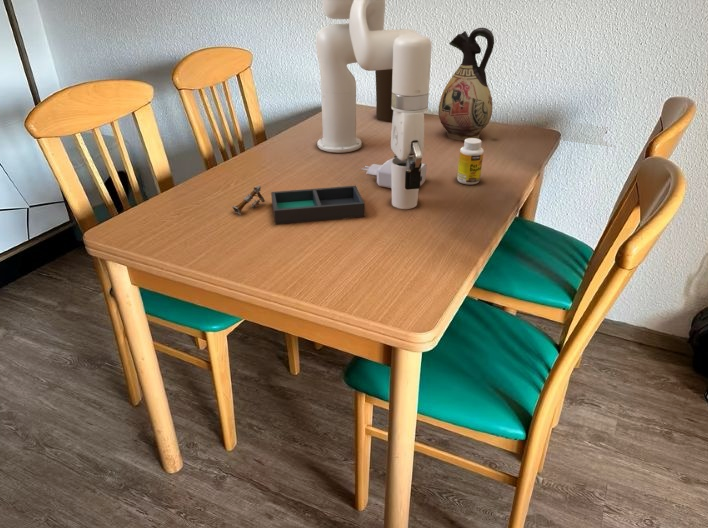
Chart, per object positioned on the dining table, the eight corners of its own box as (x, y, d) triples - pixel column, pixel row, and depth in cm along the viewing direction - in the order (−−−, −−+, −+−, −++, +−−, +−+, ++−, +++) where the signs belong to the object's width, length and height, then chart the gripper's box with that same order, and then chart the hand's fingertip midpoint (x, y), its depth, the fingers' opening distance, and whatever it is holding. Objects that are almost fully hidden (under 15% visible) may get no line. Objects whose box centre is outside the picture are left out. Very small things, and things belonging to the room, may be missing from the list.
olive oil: (368, 118, 186) (369, 34, 172) (386, 111, 193) (388, 30, 179) (395, 124, 180) (398, 38, 167) (413, 116, 187) (417, 33, 174)
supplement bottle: (467, 187, 138) (472, 145, 133) (452, 180, 142) (456, 139, 137) (484, 182, 141) (489, 141, 135) (468, 175, 145) (473, 135, 139)
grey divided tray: (272, 204, 130) (271, 191, 129) (355, 198, 133) (355, 185, 131) (275, 224, 122) (274, 210, 120) (364, 216, 125) (364, 203, 123)
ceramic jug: (427, 139, 169) (435, 27, 152) (449, 125, 179) (458, 20, 163) (482, 149, 161) (497, 33, 144) (501, 134, 172) (516, 24, 155)
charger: (370, 171, 147) (425, 180, 142) (355, 183, 141) (412, 194, 135) (371, 153, 145) (427, 162, 139) (355, 165, 138) (413, 175, 132)
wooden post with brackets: (269, 199, 131) (261, 184, 127) (245, 222, 128) (236, 208, 125) (264, 197, 132) (256, 182, 128) (240, 220, 129) (231, 205, 126)
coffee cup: (422, 208, 129) (425, 165, 123) (394, 211, 127) (395, 168, 122) (413, 196, 134) (416, 155, 128) (386, 199, 133) (387, 157, 127)
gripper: (382, 92, 124) (381, 168, 134) (402, 113, 110) (399, 196, 119) (415, 90, 126) (412, 166, 135) (440, 111, 111) (434, 194, 121)
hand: (406, 180), depth 127 cm, fingers open, 9 cm apart
